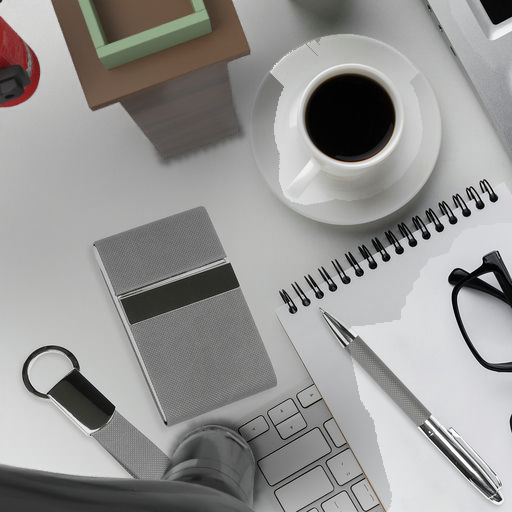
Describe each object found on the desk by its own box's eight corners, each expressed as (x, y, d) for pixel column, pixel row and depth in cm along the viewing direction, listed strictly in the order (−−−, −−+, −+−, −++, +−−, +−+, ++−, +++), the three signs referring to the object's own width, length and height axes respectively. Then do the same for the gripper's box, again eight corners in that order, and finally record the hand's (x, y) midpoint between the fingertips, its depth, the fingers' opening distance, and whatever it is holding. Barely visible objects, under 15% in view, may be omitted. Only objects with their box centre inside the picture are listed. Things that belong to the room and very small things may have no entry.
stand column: (238, 132, 77) (224, 42, 48) (164, 159, 77) (105, 85, 48) (211, 60, 78) (181, -74, 49) (138, 86, 78) (63, -31, 49)
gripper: (-250, 220, 39) (27, 120, 39) (-324, -8, 40) (-52, -106, 40) (-167, 232, 47) (65, 147, 47) (-231, 39, 47) (-2, -43, 47)
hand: (9, 31), depth 43 cm, fingers closed on beverage can, 5 cm apart
